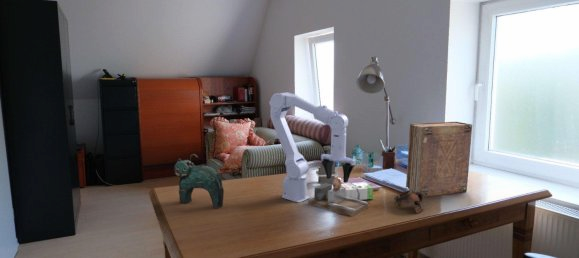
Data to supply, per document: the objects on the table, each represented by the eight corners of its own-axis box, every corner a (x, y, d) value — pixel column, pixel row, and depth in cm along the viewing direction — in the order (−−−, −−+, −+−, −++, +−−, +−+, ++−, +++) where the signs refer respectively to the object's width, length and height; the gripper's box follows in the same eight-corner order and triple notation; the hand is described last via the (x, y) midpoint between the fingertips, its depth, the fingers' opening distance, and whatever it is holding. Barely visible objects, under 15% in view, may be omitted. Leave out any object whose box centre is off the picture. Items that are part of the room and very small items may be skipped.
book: (419, 197, 160) (423, 126, 155) (405, 190, 168) (409, 123, 164) (467, 191, 168) (472, 124, 163) (451, 185, 177) (456, 121, 172)
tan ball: (324, 201, 151) (322, 192, 151) (329, 198, 154) (327, 190, 154) (332, 200, 149) (330, 191, 149) (337, 198, 151) (334, 189, 151)
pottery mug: (414, 217, 139) (404, 197, 140) (397, 220, 147) (387, 201, 148) (433, 203, 145) (423, 183, 146) (415, 206, 153) (406, 188, 154)
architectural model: (310, 190, 169) (310, 166, 167) (303, 179, 186) (303, 157, 184) (350, 188, 172) (351, 164, 170) (340, 178, 188) (340, 156, 187)
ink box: (373, 187, 156) (346, 189, 153) (373, 199, 156) (346, 201, 154) (365, 181, 164) (339, 183, 161) (364, 192, 165) (338, 194, 162)
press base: (308, 203, 151) (308, 187, 150) (325, 196, 160) (325, 181, 159) (352, 216, 138) (352, 199, 137) (368, 207, 148) (368, 191, 146)
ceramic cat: (174, 203, 150) (172, 153, 147) (184, 198, 156) (182, 150, 153) (218, 210, 143) (217, 158, 140) (226, 204, 149) (226, 154, 146)
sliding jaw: (327, 203, 147) (328, 179, 146) (339, 197, 153) (339, 175, 152) (334, 204, 145) (335, 181, 144) (345, 199, 151) (346, 176, 150)
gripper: (360, 146, 144) (359, 181, 146) (328, 141, 154) (327, 174, 156) (350, 149, 139) (349, 185, 141) (318, 144, 148) (317, 178, 150)
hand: (337, 180), depth 148 cm, fingers open, 7 cm apart
